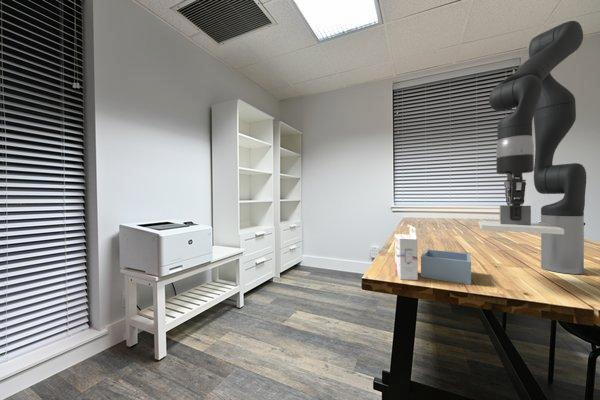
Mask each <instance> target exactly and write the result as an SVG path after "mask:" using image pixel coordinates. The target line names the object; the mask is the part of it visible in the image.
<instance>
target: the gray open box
mask: <svg viewBox="0 0 600 400" xmlns="http://www.w3.org/2000/svg"><path fill="white" fill-rule="evenodd" d="M420 277H421V278H426V279H432V280H437V281H446V282H452V283H459V284H464V285H465V284H466V285H471V286H472V258H471V253H470V252H469V253H468V252H459V251H450V250H439V249H430V248H429V249H428V248H425V249H424V251H423V253H422V254H421V256H420Z"/></svg>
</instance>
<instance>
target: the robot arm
mask: <svg viewBox="0 0 600 400" xmlns="http://www.w3.org/2000/svg"><path fill="white" fill-rule="evenodd" d="M583 40H584V31H583V28H582V25H581V24H580V22H578V21H576V20H569V21H566V22H563V23H561V24H558V25H556V26H554V27H552V28H551V29H548V30H546V31H544V32H542V33H540V34H538V35H536V36H535V37H532V39H531V40H530V42H529V46H528V59H527V60H525V61H524V63H522V64H520V66H519V67H518V68H517V70H516V71H515V72H514V73H513V74H511V75H509V76H508V77H507V78H505V79H504V80H502V81H500V83H498V84H496V86H495V87H493V89H492V90H491V92H490V94H489V97H488V105H489V107H490V108H491V109H493V110H494V111H497V112H504V111H508V110H512V109H515V108H516V109H515V110H514V112H512V113H511V114H509V115H507V116H505V117H503V118H501V119H499V120H498V122H497V143H496V149H495V151H496V152H495V153H496V155H495V156H496V160H495V161H496V165H495V166H496V174H498V175H506V176H507V178H506V180H504V181H503V186H504V189H505V190H504V197H505V202H506V205H510V219H511V220H515V221H520V220H521V206H524V204H525V197H526V196H525V195H526V186H527V181H526V179H524V177H523V174H528V173H533V184H534V187H535V190H536V192H537V193H539V194H543V195H552V194H553V195H557V194H558V195H561V194H562V195H563V194H564V195H563V197H562V198H561V199H560V200H558V201H556V202H554V203H551V204H550V203H549V204H546V205H542V206H541V208H540V223H546V224H550V225H553V226H556V227H559V228H562V229H564V234H548V233H540V267H541V268H542V269H544V270H546V271H547V270H548V271H551V272H554V273H555V272H557V273H563V274H570V275H571V274H572V275H583V274H584V273H585V243H584V242H585V217H584V216H585V207H586V205H585V204H586V190H587V171H586V168H585V167H584V165H583V164H581V163H576V162H575V163H563V164H561V163H560V164H553V161H554V156H555V152H556V149H557V148H558V147H559V145H560V143H561V142H562V141H563V139H564V138H565V137H566V136H567V134H568V133H569V131H570V130H571V129H572V127H573V125H575V122H576V120H577V112H576V111H577V107H576V106H577V105H576V98H575V95H574V94H573V93H572V91H570V90H569V89H567V88H566V87H565V86H564V85H563V84H562V83H560V82H558V81H557V80H556V78H554V76H553V75H552V74H551V72H552V70H554V69H555V68H556V67H557V66H558V65H560V63H562V62H563V61H565V59H567V58H568V57H569V56H571V55H572V54H574V53H575V52H576V51H578V50H579V49H580V47H581V45H582V44H583ZM533 124H534V136H535V137H534V138H535V141H534V140H533ZM534 143H535V145H534ZM534 146H535V150H534ZM534 152H535V153H534Z"/></svg>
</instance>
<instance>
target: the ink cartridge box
mask: <svg viewBox="0 0 600 400" xmlns="http://www.w3.org/2000/svg"><path fill="white" fill-rule="evenodd" d="M417 234H418V233H417V228H416V227H414V226H412V225H411V224H409V234H399V233H398V234H394V270H395V272H396V274H397V277H398V278H399V280H404V281H405V280H406V281H407V280H408V281H418V279H419V276H418V275H419V272H418V271H419V270H418V269H419V268H418V266H419V265H418V264H419V263H418V256H419V255H418V235H417Z"/></svg>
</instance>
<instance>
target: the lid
mask: <svg viewBox="0 0 600 400" xmlns="http://www.w3.org/2000/svg"><path fill="white" fill-rule="evenodd" d="M531 215H532V206H531V205H522V206H521V220H520V221H515V220H511V219H510V205H507V204H506V205H499V220H498V221H497V220H496V221H493V220H492V221H491V220H478V226H479V228H480V230H481V231H493V232H495V231H496V232H514V233H515V232H516V233H531V234H532V233H534V234H541V233H548V234H564V229H562V228H559V227H556V226H553V225H550V224H546V223H541V222H532V216H531Z"/></svg>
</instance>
